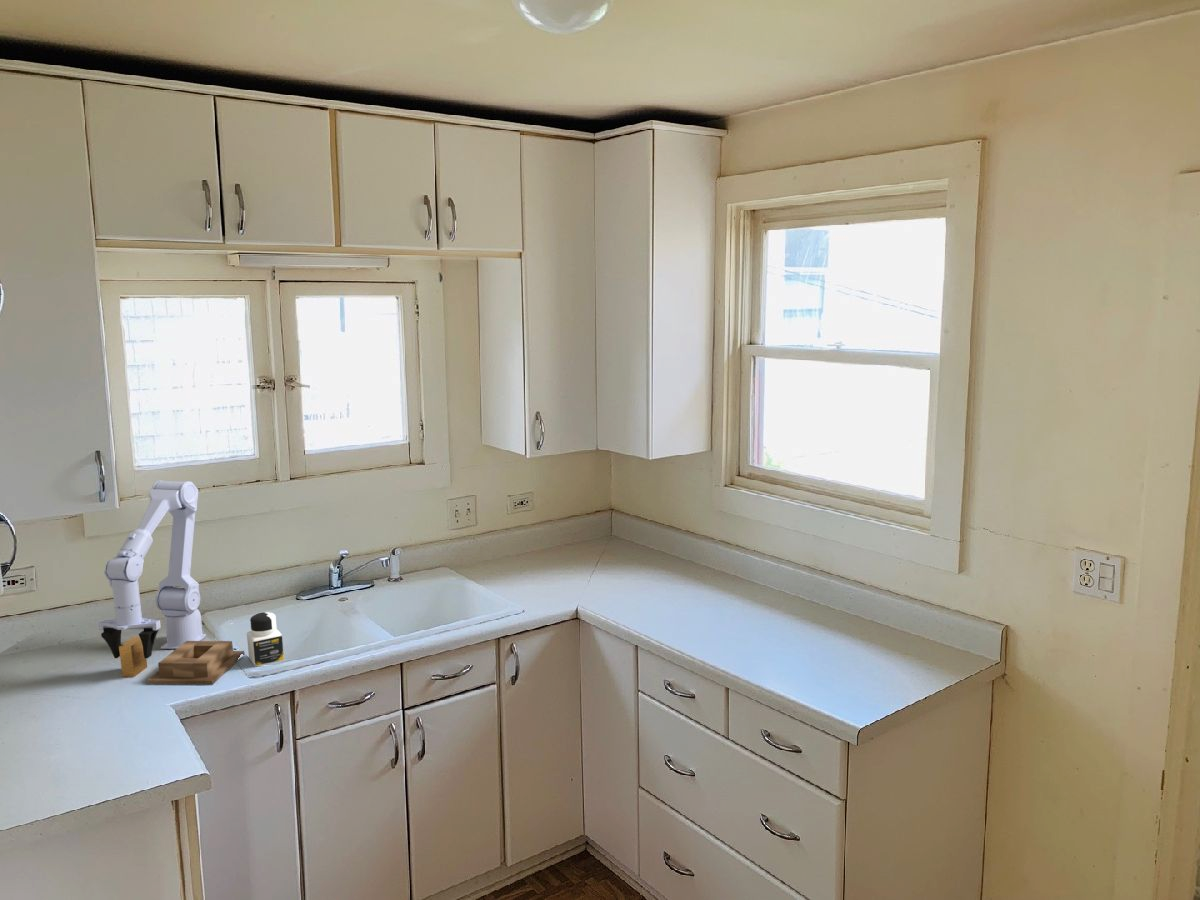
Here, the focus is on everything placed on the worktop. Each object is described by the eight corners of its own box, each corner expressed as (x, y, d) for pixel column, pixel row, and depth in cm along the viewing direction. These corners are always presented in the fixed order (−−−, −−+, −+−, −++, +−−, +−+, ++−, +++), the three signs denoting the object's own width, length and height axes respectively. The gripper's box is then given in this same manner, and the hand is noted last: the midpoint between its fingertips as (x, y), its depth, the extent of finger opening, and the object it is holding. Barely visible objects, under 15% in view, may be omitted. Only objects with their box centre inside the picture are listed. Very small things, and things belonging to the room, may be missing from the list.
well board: (184, 654, 237) (182, 637, 236) (244, 654, 236) (243, 638, 235) (147, 684, 219) (145, 666, 218) (212, 684, 219) (210, 666, 218)
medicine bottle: (255, 667, 228) (251, 622, 226) (248, 658, 234) (244, 613, 232) (284, 660, 232) (280, 616, 230) (277, 651, 238) (273, 607, 236)
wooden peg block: (135, 667, 230) (132, 636, 228) (147, 667, 229) (144, 637, 228) (122, 677, 224) (118, 646, 222) (134, 677, 223) (130, 646, 222)
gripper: (88, 609, 220) (95, 663, 222) (147, 610, 219) (153, 663, 221) (105, 600, 227) (111, 651, 229) (162, 600, 226) (167, 652, 228)
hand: (133, 656), depth 226 cm, fingers open, 7 cm apart
